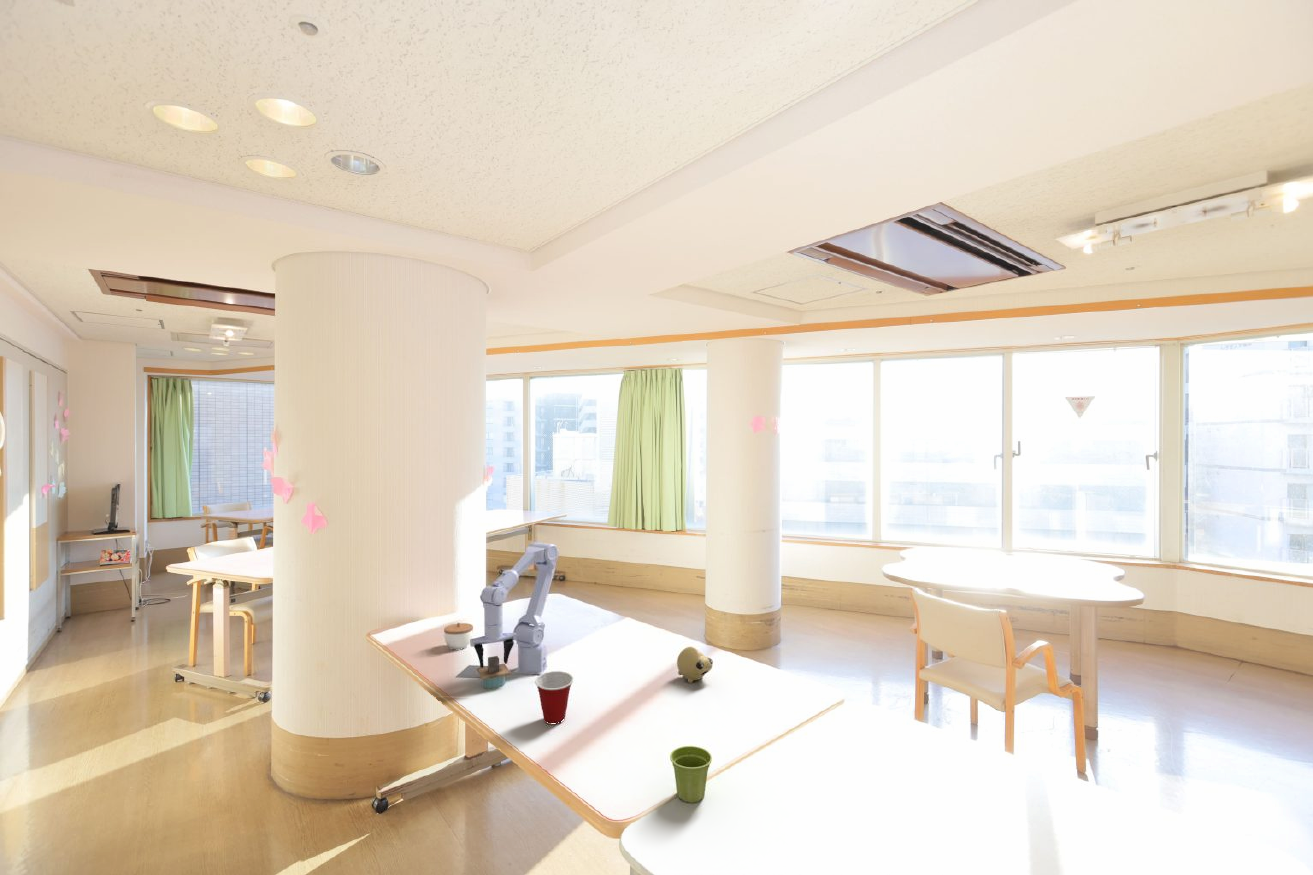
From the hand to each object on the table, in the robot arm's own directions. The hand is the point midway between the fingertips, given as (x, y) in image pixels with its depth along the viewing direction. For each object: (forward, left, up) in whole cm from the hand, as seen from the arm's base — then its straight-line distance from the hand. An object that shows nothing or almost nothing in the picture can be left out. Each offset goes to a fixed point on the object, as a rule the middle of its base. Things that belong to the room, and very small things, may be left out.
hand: (493, 664), depth 197 cm
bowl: (0, 0, -7) cm, 7 cm away
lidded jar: (+28, -34, -7) cm, 45 cm away
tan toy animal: (-65, -11, -7) cm, 66 cm away
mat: (+10, -10, -7) cm, 16 cm away
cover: (0, 0, -2) cm, 3 cm away
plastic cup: (-27, +22, -7) cm, 35 cm away
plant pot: (-68, +54, -7) cm, 87 cm away
